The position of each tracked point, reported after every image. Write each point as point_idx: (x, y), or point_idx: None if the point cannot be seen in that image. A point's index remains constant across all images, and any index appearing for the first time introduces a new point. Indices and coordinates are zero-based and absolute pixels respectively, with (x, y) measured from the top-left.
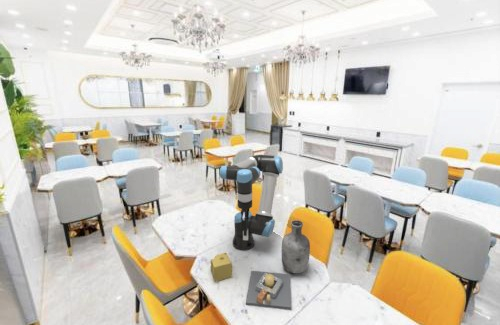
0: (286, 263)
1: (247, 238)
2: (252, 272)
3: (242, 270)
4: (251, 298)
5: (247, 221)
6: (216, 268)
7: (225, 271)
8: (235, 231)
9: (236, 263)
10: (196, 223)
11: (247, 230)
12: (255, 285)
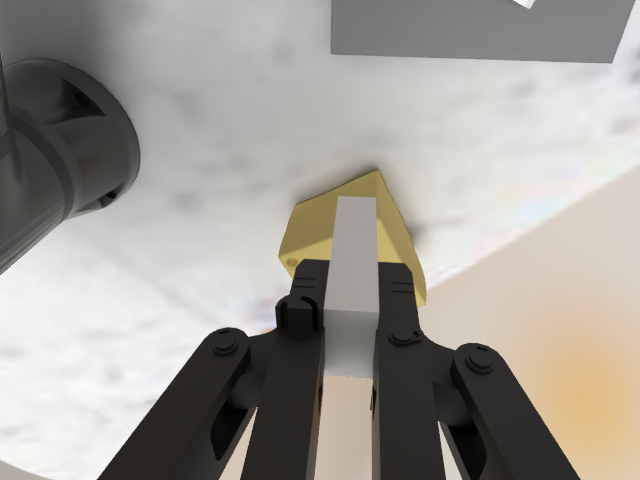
0: None
1: (374, 217)
2: (347, 43)
3: (317, 113)
4: (586, 26)
5: (306, 466)
6: (419, 286)
7: (394, 222)
8: (42, 238)
9: (262, 157)
10: (21, 381)
11: (377, 305)
12: (525, 7)
